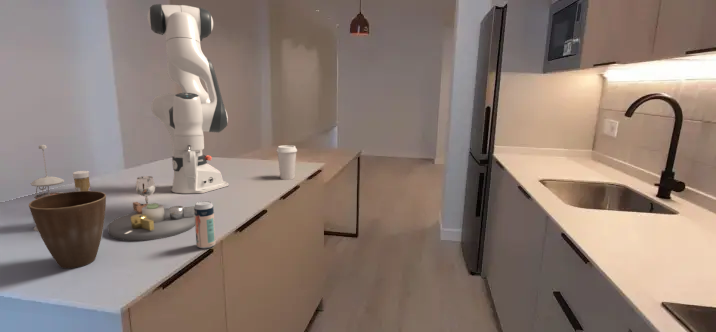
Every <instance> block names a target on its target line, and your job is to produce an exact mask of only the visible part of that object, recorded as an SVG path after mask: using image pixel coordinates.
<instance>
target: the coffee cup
mask: <svg viewBox="0 0 716 332" xmlns="http://www.w3.org/2000/svg"><path fill="white" fill-rule="evenodd" d="M297 152H298V149H297V148H296V145H291V144H290V145H289V144H288V145H285V144H284V145H278V146H277V148H276V153H277V159H278V168H279V178H280V180H283V181H289V180H293V179H295V177H296V176H295V174H296V161H297Z"/></svg>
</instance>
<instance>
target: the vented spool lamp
mask: <svg viewBox="0 0 716 332" xmlns="http://www.w3.org/2000/svg"><path fill="white" fill-rule="evenodd" d="M47 148H48V147H47V145H45V144H40V145H38V149H39V150H42V157H43V163H44V170H45V176H43V177H40V178H36V179H34V180H32V181H31V182H30V185H31V186H32V187H36V189H35V195H34V196H33V197H34V200H36V199H39V198H42V197H46V196H50V195H55V194H60V193H63V192H61V191H54V192H53V191H50V187H52V186H56V185H57V186H58V185H61V184H63V183H64V182H65V179H63V178H61V177H56V176H49V175H48V173H47V166H46V158H45V152H44V151H45V149H47ZM38 189H39V190H40V191H42V193H39V194H38ZM45 189H47V192H44V190H45ZM33 231H34V232H39V231H38V229H37V227H36V225H35V226H34V228H33Z"/></svg>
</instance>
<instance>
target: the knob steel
mask: <svg viewBox="0 0 716 332" xmlns="http://www.w3.org/2000/svg"><path fill="white" fill-rule="evenodd" d="M194 207H195V205H194V206H193V205H192V206H183V205H174V206H171V207H168V208H169V211H170V218H171V219H180V218H183V217H184V216H193V215H194Z"/></svg>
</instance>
